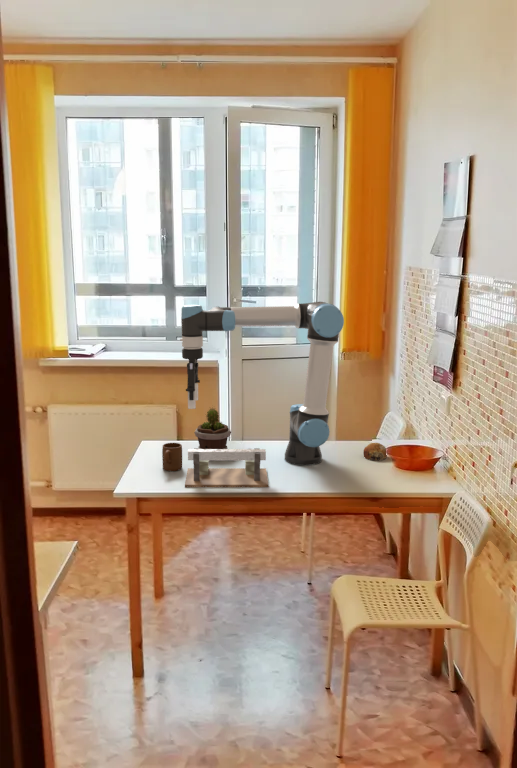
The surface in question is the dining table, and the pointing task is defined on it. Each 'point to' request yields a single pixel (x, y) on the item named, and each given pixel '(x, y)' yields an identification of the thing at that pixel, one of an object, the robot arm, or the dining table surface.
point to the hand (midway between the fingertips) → (193, 404)
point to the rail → (227, 454)
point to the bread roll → (375, 451)
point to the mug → (172, 456)
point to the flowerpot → (212, 432)
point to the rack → (226, 474)
